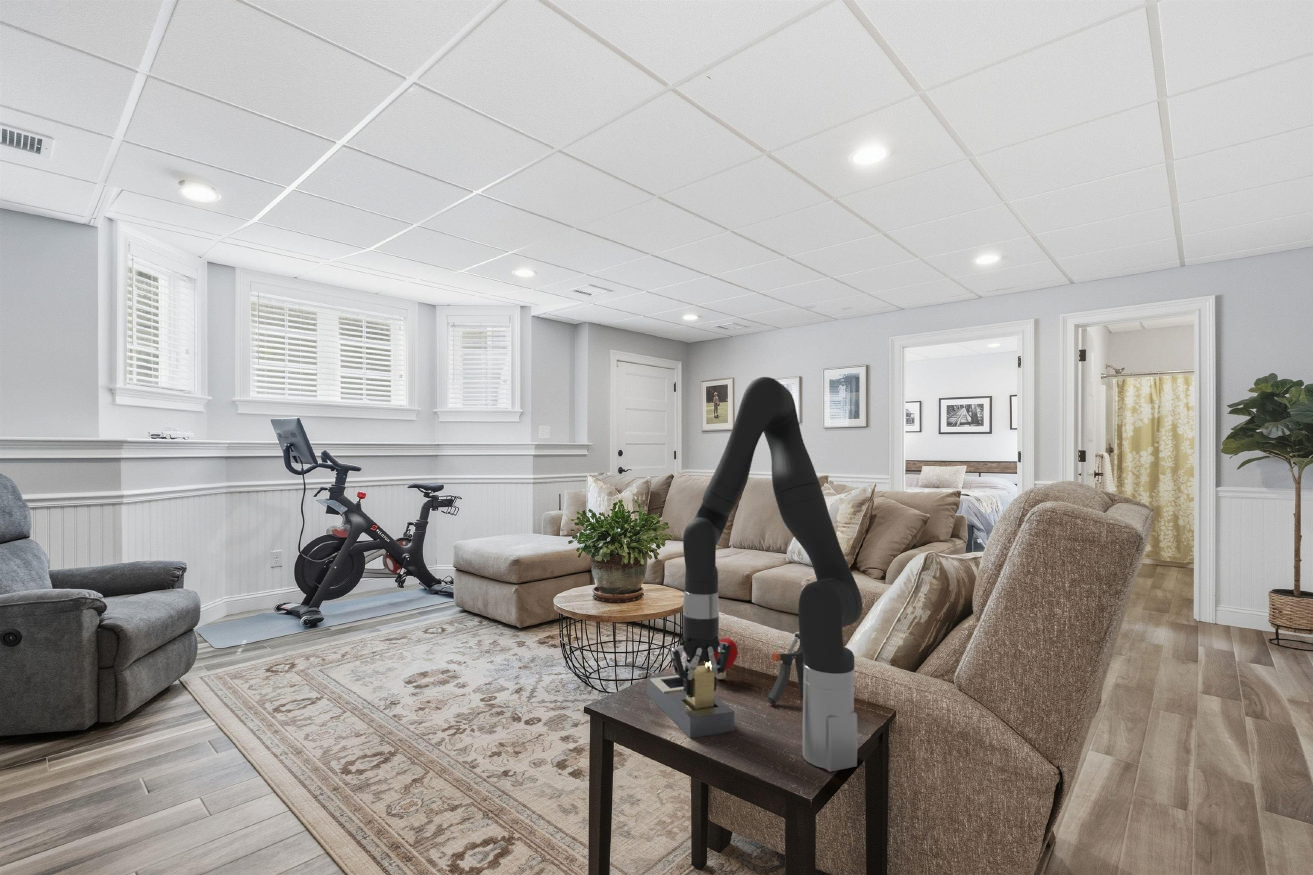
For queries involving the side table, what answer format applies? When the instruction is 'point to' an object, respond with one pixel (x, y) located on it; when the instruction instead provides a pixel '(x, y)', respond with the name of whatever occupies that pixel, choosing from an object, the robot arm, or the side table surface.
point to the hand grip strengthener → (787, 671)
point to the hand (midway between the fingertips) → (700, 694)
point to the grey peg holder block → (692, 723)
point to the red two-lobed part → (731, 656)
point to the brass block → (702, 689)
